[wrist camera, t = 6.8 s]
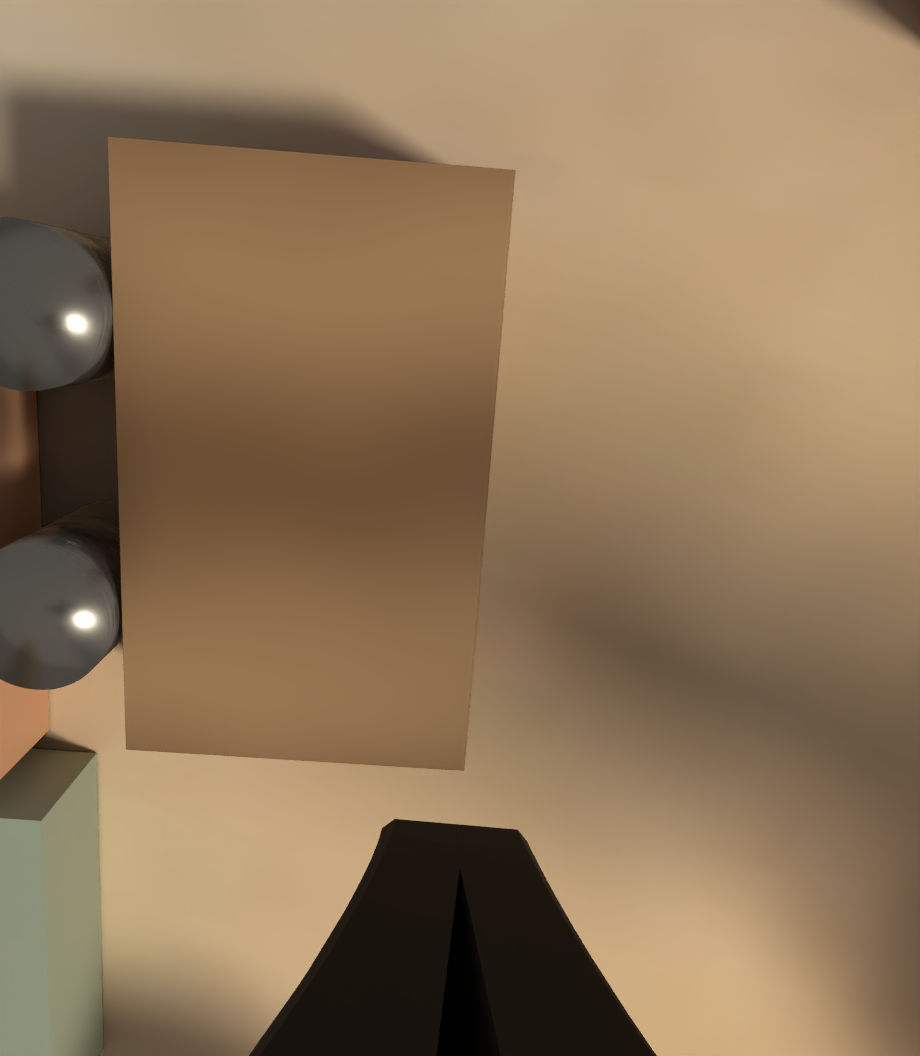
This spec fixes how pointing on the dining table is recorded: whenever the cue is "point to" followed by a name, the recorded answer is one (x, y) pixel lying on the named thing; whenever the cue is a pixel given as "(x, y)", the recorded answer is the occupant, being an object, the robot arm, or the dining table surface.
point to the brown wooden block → (303, 447)
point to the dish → (3, 517)
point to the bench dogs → (93, 530)
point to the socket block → (50, 907)
